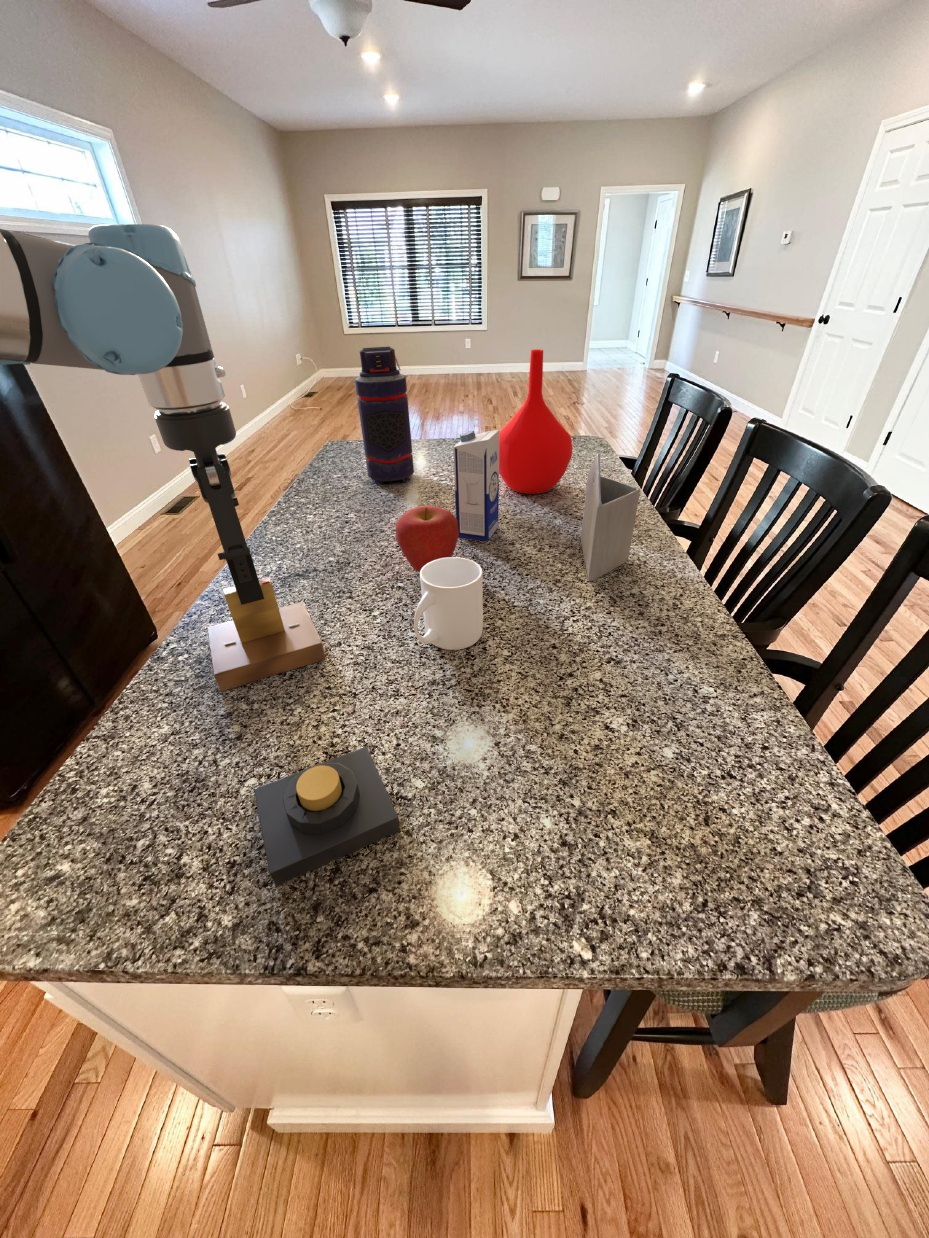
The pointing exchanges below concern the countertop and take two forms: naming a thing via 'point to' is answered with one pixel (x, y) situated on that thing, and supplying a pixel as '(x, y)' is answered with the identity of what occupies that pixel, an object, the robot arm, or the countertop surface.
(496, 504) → the milk carton
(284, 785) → the push button housing
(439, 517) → the apple
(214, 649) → the plate
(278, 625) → the thumbturn
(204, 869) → the countertop surface
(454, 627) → the mug
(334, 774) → the button
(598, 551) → the planter
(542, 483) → the vase
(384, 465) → the navy water bottle
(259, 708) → the countertop surface
